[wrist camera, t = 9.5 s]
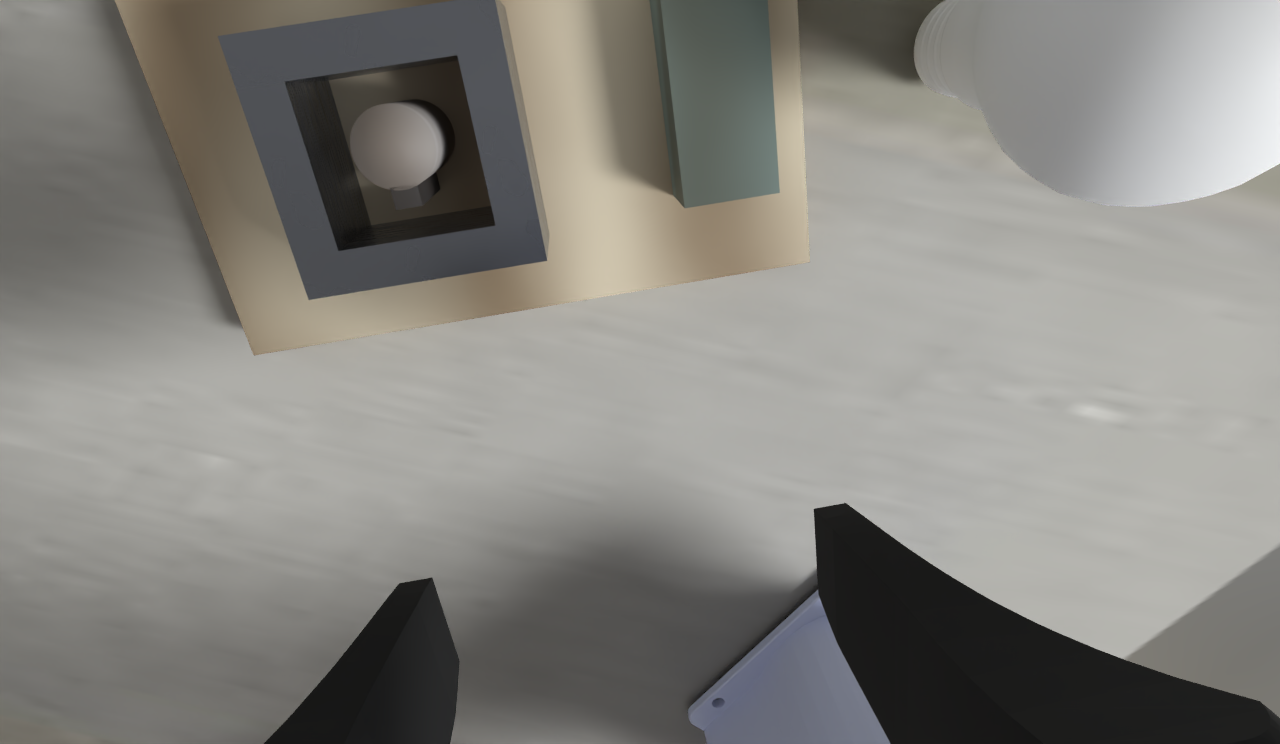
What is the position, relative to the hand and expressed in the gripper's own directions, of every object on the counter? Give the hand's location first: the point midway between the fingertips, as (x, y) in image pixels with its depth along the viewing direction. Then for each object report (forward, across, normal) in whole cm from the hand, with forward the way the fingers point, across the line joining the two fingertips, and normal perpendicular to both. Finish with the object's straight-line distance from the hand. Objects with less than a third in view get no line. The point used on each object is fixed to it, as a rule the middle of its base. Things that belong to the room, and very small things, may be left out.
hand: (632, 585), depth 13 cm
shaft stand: (+10, +2, -8) cm, 13 cm away
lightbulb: (+11, -11, -8) cm, 17 cm away
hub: (+9, +4, -8) cm, 12 cm away
